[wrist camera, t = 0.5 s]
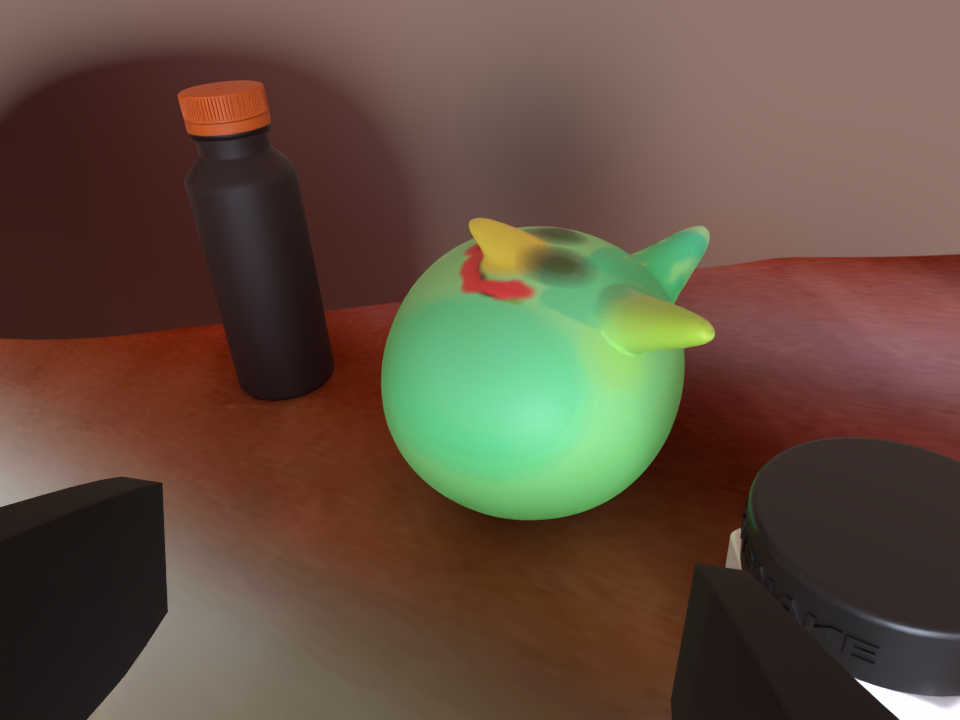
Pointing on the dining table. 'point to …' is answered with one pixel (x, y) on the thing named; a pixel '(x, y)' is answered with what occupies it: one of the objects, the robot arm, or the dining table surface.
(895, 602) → the jar
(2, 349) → the dining table surface
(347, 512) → the dining table surface
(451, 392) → the toy bird
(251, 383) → the bottle
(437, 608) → the dining table surface
